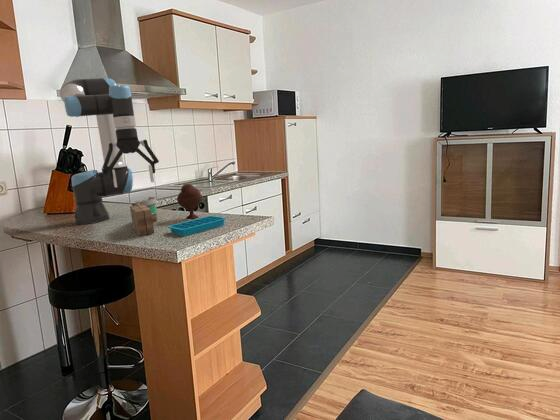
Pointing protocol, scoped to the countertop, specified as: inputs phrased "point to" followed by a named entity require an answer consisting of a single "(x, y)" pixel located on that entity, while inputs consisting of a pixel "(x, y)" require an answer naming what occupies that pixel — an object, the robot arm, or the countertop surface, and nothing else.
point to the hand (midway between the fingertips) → (134, 184)
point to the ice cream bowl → (189, 199)
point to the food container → (150, 206)
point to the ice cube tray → (197, 225)
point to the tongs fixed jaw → (138, 219)
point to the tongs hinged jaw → (147, 218)
